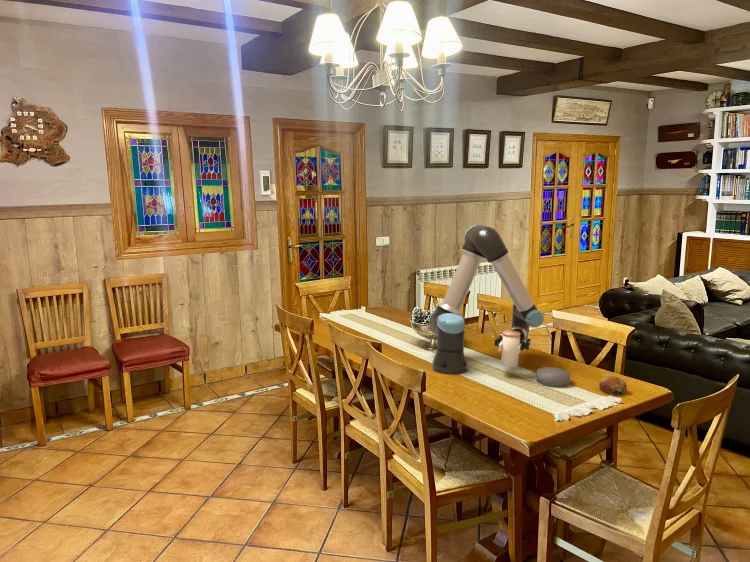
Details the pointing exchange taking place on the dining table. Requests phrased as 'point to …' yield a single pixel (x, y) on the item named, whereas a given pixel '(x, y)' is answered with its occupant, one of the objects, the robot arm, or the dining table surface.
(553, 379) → the plinth
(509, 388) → the dining table surface
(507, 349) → the canister
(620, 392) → the bread roll
